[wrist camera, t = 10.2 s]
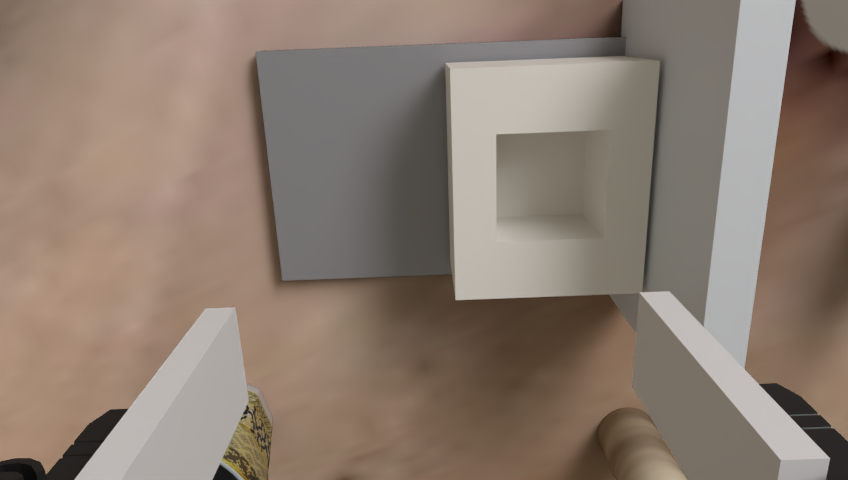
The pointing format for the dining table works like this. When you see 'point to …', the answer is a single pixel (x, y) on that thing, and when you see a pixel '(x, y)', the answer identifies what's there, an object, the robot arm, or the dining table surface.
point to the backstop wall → (428, 161)
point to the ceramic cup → (249, 443)
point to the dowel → (636, 447)
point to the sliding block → (549, 175)
